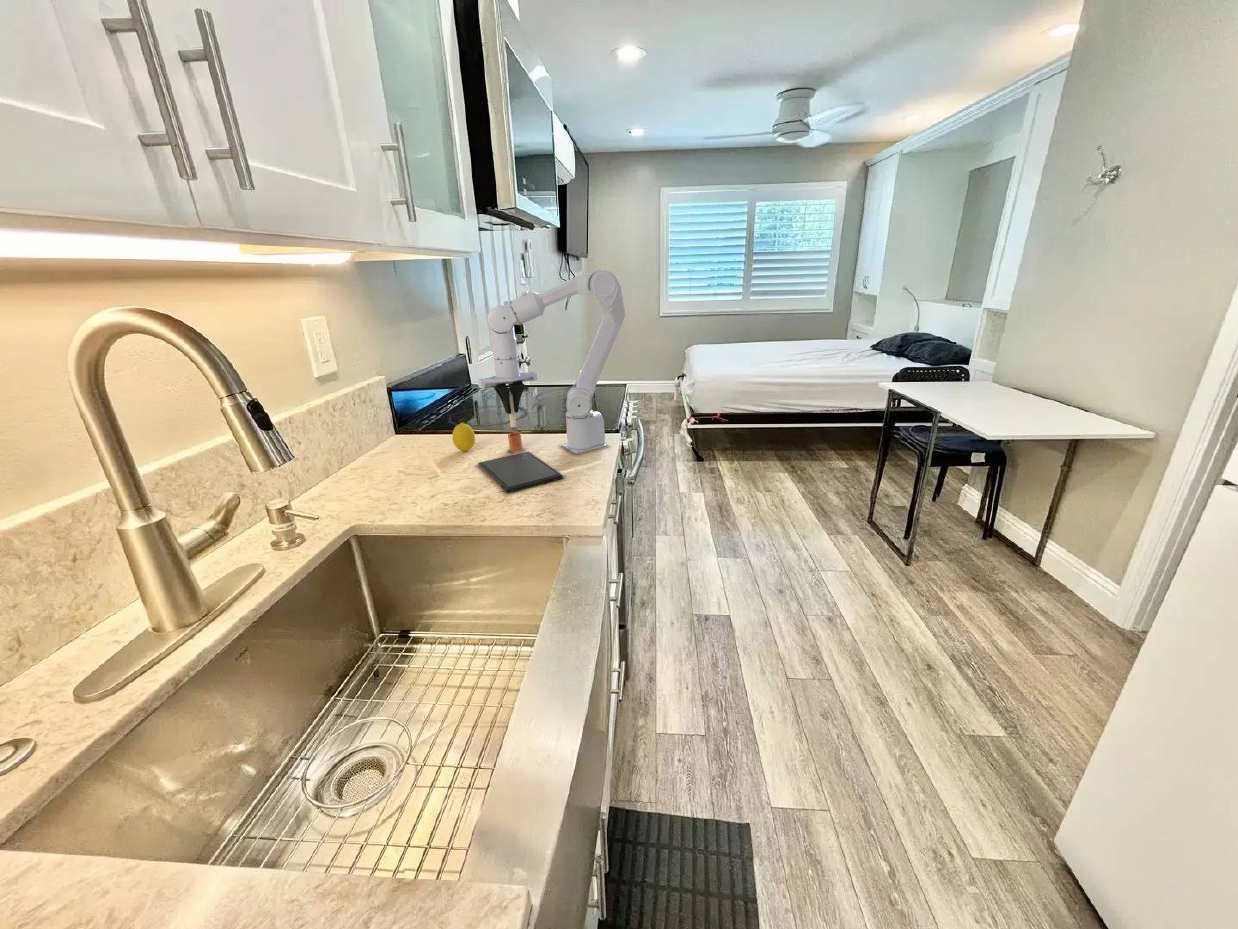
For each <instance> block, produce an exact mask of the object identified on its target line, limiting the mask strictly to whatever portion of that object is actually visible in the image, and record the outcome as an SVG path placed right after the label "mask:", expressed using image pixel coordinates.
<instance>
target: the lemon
mask: <svg viewBox="0 0 1238 929" xmlns="http://www.w3.org/2000/svg"><path fill="white" fill-rule="evenodd" d="M452 442H453V445H454V446H455V448H456V449H458V450H459V451H462V452H469V451H470V450H472V449H473V447H474V446H475V444H476V433H475V431H474V430H473V428H472V427H471V426H470V425H469V424H467V423H464V422H460V423H459V424H457V425H456V426H455V427H454V428H453V430H452Z"/></svg>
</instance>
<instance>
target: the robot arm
mask: <svg viewBox="0 0 1238 929" xmlns="http://www.w3.org/2000/svg"><path fill="white" fill-rule="evenodd" d="M590 292H591V294H592V295H593V296H594V297H595V299H596V300H597V301H598V303H599V305H600V308H601V310H602V313H603V317H602V319H601V322H600V324H599V327H598V330H597V332H596V334H595V337H594V339H593V341H592V343H591V346H590V348H589V351H588V353H587V356H586V358H585V361H584V362H583V366H582V368H581V371H580V372H579V375H578V376H577V378H576V381H575V382H574V384H573V385H572V386H571V387H569V389H568V391H567V392H566V402H565V407H566V408H565V409H566V412H565V424H566V425H565V426H566V440H567V441H566V442H564V443H561V446H562V447H564V448H565V449H567V450H569V451H570V452H572V453H574V454H579V453H582V452H587V451H590V450H595V449H599V448H603V447H607V444H606V433H605V420H604V417H603V415H602V413H600V411H594V410H593V409H592V408H593V396H594V394H595V390H596V387H597V383H598V381H599V378H600V376H601V374H602V371H603V369H604V366H605V364H606V362H607V360H608V358H609V356H610V353H611V350H612V348H613V345H614V344H615V340H616V339H617V337H618V334H619V331H620V329H621V327H622V324H623V322H624V320H625V317H626V308H625V303H624V297H623V289H622V286H621V284H620V281H619V280H618V278H617V276H616V274H614V272H612V271H610V270H608V269H598V270H596V271H594V272H593V273H592V272H589V273H585V274H581V275H577V276H575V277H572V278H570V279H569V280H567V281H564V282H562V283H560V284H558V285H556V286H553V287H551V288H549V289H548V290H545V291H543V292H542V293H538V292H536V291H534V290H531V291H529V292H528V290H525V291H522V292H521V295H520V296H518V297H516V298H515V297H514V298H513V299H511V300H507V299H506V300H503V302H502V304H503V305H497V306H495V307H494V308H492V309H491V310H490V311H489V312H488V315H487V324H488V326H489V327H490V335H491V346H492V354H493V355H492V356H493V363H494V372H495V375H493V376H489V377H484V378H478V379H477V384H478V388H479V389H486V388H491V387H493V389H494V391H495V392H496V394H497V396H498V397H499V399H500V401H501V403H502V406H503V408H504V412H505V413H506V414H507V415H509V414H511V407H510V394H513V401H514V410H515V414H516V413H519V408H520V402H521V398H522V395H523V393H524V390H525V387H526V386H525V385H526V384H525V383H524V382H530V381H532V382H534V381H538V373H537V372H535V371H528V372H527V371H526V372H520V364H519V355H518V345H517V338H516V334H515V325H516V326H521V325H522V324H525V323H528V322H530V321H532V320H534V319H536V318H538V317H541V316H543V315H544V313H545V310H546V307H548V306H549V307H550V305H554V304H555V303H558V302H560V301H563V300H566V299H568V298H571V297H573V296H576V295H581V296H590Z"/></svg>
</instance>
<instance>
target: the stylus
mask: <svg viewBox="0 0 1238 929" xmlns="http://www.w3.org/2000/svg"><path fill="white" fill-rule="evenodd" d="M510 407H511V414H508V415H509V416H508V418H509V423H510V424H509V425H510V428H511V430H516V427H517V422H516V421H517V420H516V412H515V410H514V401H513V394H511V393H510Z"/></svg>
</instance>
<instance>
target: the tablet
mask: <svg viewBox="0 0 1238 929" xmlns="http://www.w3.org/2000/svg"><path fill="white" fill-rule="evenodd" d="M477 464H478V466H479V467H480V468H482V469H483V470H484V471H485V472H486V473H487V474H488V475H489V476H490V477H491V478H493V480H495V481H496V482H497V483H498V485H500V488H502V490H503V491H504V492H506V493H507V494H510V493H513V492H517V491H521V490H525V489H528V488H533V487H536V486H540V485H543V484H547V483H551V482H555V481H558V480H562V479H563V474H561V473H560V472H558V471H557V469H554V468H553V467H552V466H550V465H548V464H547V463H546V462H544V461H543V460H542V459H540V458H538V456H535V455H534V454H533V453H531V452H530V451H524V452H519V453H515V454H512V455H511V454H510V455H506V456H502V457H497V458H493V459H488V460H485V461H479V462H478V463H477Z"/></svg>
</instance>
